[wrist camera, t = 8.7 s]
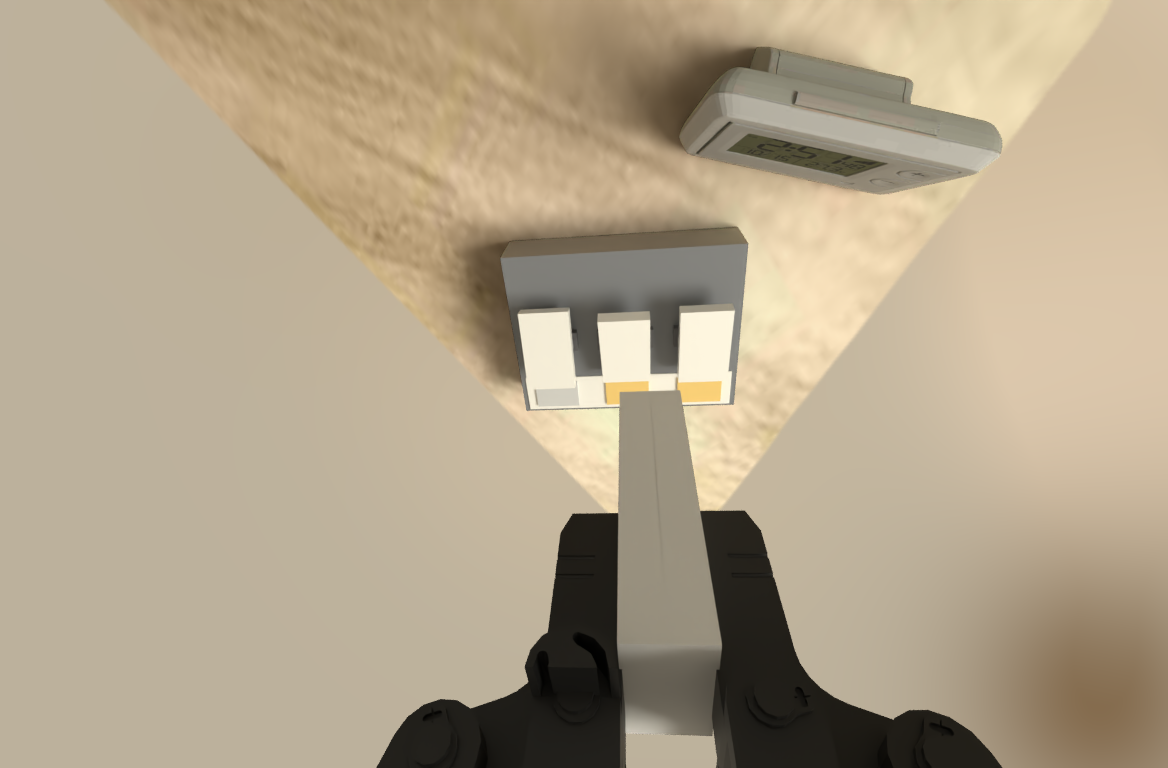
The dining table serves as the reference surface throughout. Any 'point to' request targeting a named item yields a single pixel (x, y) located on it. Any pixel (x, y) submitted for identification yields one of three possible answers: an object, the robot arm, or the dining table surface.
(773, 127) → the digital clock
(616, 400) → the panel
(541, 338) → the switch
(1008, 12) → the dining table surface
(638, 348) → the switch
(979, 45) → the dining table surface
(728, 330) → the switch
